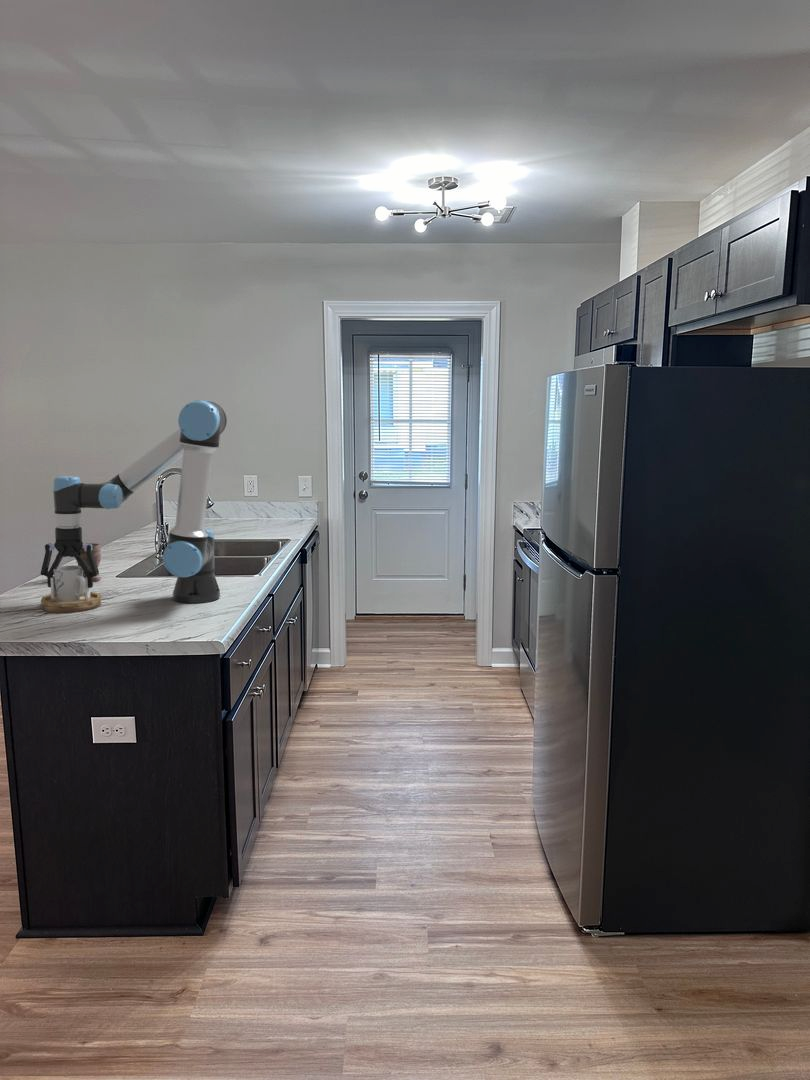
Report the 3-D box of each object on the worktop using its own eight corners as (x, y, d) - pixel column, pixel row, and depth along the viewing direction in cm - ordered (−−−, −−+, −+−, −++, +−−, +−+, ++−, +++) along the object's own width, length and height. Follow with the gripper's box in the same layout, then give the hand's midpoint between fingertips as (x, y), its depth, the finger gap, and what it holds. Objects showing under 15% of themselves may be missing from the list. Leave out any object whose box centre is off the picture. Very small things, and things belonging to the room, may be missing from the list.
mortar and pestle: (89, 585, 268) (87, 529, 265) (66, 584, 269) (64, 528, 266) (106, 578, 279) (104, 524, 276) (84, 577, 280) (82, 523, 277)
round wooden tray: (111, 606, 239) (111, 597, 239) (57, 615, 226) (57, 606, 226) (84, 597, 250) (84, 588, 250) (32, 605, 237) (31, 597, 237)
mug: (96, 600, 239) (95, 568, 237) (72, 605, 231) (71, 572, 230) (72, 595, 244) (71, 564, 243) (48, 599, 237) (47, 568, 236)
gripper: (109, 525, 239) (110, 595, 242) (35, 524, 237) (38, 594, 241) (101, 529, 232) (103, 601, 235) (26, 527, 230) (29, 600, 233)
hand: (70, 597), depth 238 cm, fingers closed on mug, 9 cm apart
